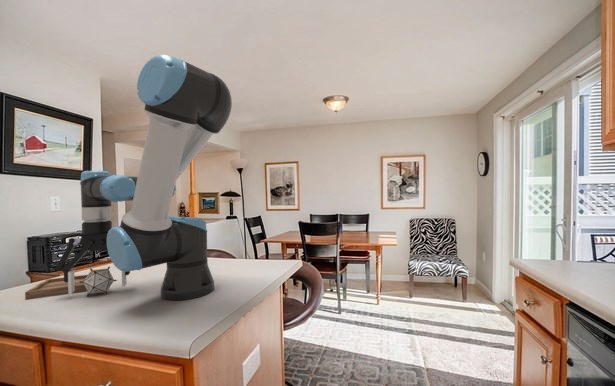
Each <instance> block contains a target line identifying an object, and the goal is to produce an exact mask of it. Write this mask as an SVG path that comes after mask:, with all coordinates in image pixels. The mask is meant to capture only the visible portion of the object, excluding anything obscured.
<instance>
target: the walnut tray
mask: <svg viewBox="0 0 615 386" xmlns="http://www.w3.org/2000/svg"><path fill="white" fill-rule="evenodd" d="M87 276H88V274H82V275H74V281H75V291H74V292H73V293H72V294H79V293H84V292H88V291H87V289H86V288H85V286H84V284H83V282H82V283H80V281H83V280H84V279H85V278H86V277H87ZM24 295H25V296H24V298H25V299H24V300H34V299H41V298H45V297H46V298H48V297H54V296H62V295H69V294H68V282H64V277H57V278H55V277H54V278H48V279H45V280H44V281H41V282H40V283H38V284H37V285H35V286H34V287H32V288H30V289H28V290H26V291H25V292H24Z"/></svg>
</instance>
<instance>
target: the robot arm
mask: <svg viewBox="0 0 615 386" xmlns="http://www.w3.org/2000/svg"><path fill="white" fill-rule="evenodd" d="M136 89H137V95H138V99H140V101H141V102H142V103H143V104H144V110H143V111H144V112H145V114H146V115H147V117H148V118H149V121H148V127H147V131H146V136H145V142H144V146H143V151H142V156H141V159H140V163H139V168H138V169H139V170H138V173H137V174H138V175H137V176H129V175H122V174H121V175H120V174H119V175H118V174H113V175H111V173H110V171H106V170H85V171H82V172H81V174H80V183H79V185H80V196H81V197H80V198H81V199H80V202H81V220H82V223H81V238H78V237H71V238H69V239H68V245H67V247H66V249H65V251H64V253H63V254H62V256H61V258H60V259H59V261H58V262H57V265H56V266H55V269H54V270H55V271H60V272H63V278H64V282H68V294H67V295H71V294H74V293H73V292H74V291H75V281H74V276H75V269H73V267H74V266H75V265H76V264H77V263H78V262H79V261H80V260H81V259H82V257H83V256H84V255H86V253H88V252H96V251H98V252H100V251H101V252H102V251H105V250H107V253H108V256H109V258H110V260H111V262H112V264H113V265H114V267H116V269H117V270H119V271H121V288H124V287H126V286H127V284H128V283H127V276H129V275H130V274H131V271H132V272H133V271H141V270H142V269H147V268H150V267H155V266H158V265H159V266H160V265H163V264H166V271H165V273H164V278H163V280H162V283H161V286H160V298H162V299H164V300H167V301H184V300H190V299H195V298H199V297H200V298H201V297H203V296H206V295H208V294H210V293H212V292H213V291H214V290H215V280H214V277H213V275H212V271H211V270H210V267H209V263H208V262H209V261H208V229H207V222H206V220H205V218H202V217H196V216H195V217H190V216H168V215H169V210H170V207H171V203H172V199H173V197H174V195H175V192H176V191H177V189H176V182H177V181H178V179H179V178H180V177H181V175H182V174H183V173H184V172H185V170H186V169H187V168H188V167H189V165H190V163H191V162H192V161H193V160H194V159H195V157H196V156H197V155H198V154H199V152H200V151H201V150H202V148H203V147H205V145H206V143H207V142H208V141H209V140H210V139H211V138H212V136H213V135H217V134H219V133H220V132H221V130H222V129H223V128H224V127H225V125H226V124H227V122H228V120H229V117H230V115H231V110H232V107H233V106H232V104H233V103H232V96H231V92H230V89H229V88H228V86H227V84H226V83H225V81H223V79H221V77H218V76H217V75H215V74H214V73H211V72H208V71H206V70H205V69H201V68H199V67H198V66H195V65H193V64H191V63H189V62H187V61H184V60H182V59H181V58H178V57H177V58H176V57H173V56H170V55H167V54H162V53H161V54H156V55H154V56H153V57H151V58H150V59H149V60H147V61H146V63H145V64H144V65H143V66H142V68H141V71H140V73H139V75H138V79H137V84H136ZM131 201H132V202H131ZM112 202H113V203H115V202H116V203H117V202H131V207H130V211H128V212H126V213H124V214H123V215H122V216H121V221H120V224H119V225H117V226H114V227H112V226H113V223H112V221H111V219H112V215H113V214H112ZM79 243H80V244H81V245H83V248H81V250H80V251H79V252H78V253H77V254H76V255H75V256H74V257H73V258H72V259H71V261H70V262H69V263H68V264H67V262H68V260H69V259H70V256H71V255H72V253H73V251H74V250H75V247H76V246H77V245H79Z"/></svg>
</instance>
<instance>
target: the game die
mask: <svg viewBox="0 0 615 386" xmlns="http://www.w3.org/2000/svg"><path fill="white" fill-rule="evenodd" d="M89 268H90V269H89V270H90V272H89V273H88V274H87V275H88V276H87V277H86V278H85V279H84V280H83V281H80V283H82V282H83V284H84V286H85V288H86V289H87V291H86V292H87V295H86V296H87V297H89V296H90V295H94V294H101V293H105V294H106V295H108V290H109V289H110V287H111V286H112V285H113V283H114V282H117V281H118V279H114V277H113V275H112V273H111V271H110V270H109V269H110V268H111V266H108V267H107V268H102V269H101V268H100V269H93V268H91V267H89Z"/></svg>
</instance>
